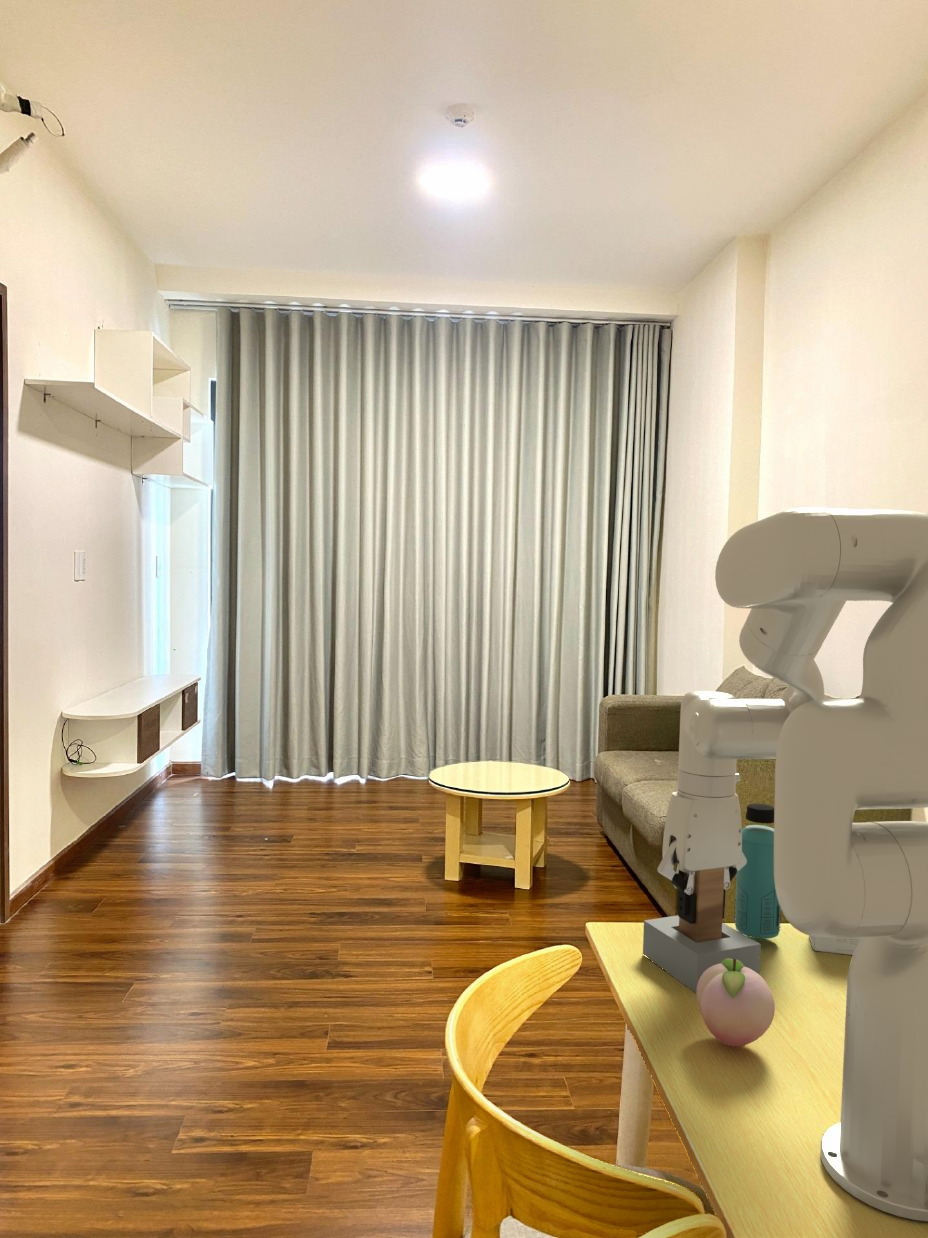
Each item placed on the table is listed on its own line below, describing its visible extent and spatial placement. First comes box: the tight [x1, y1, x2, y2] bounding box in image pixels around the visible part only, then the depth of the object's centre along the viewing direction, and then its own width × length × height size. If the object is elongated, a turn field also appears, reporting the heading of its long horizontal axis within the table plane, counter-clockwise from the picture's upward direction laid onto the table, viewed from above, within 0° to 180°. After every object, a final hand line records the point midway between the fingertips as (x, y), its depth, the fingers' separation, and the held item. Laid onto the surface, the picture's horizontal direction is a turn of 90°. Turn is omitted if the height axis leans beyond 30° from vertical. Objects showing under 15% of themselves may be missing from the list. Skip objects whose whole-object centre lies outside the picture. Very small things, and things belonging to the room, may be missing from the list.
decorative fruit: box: [696, 958, 776, 1047], centre depth 102 cm, size 9×8×10 cm
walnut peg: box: [679, 867, 725, 943], centre depth 122 cm, size 4×4×12 cm
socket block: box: [642, 914, 761, 994], centre depth 122 cm, size 12×10×5 cm
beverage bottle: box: [733, 802, 782, 940], centre depth 132 cm, size 6×7×20 cm
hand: (700, 916), depth 122 cm, fingers closed on walnut peg, 4 cm apart
